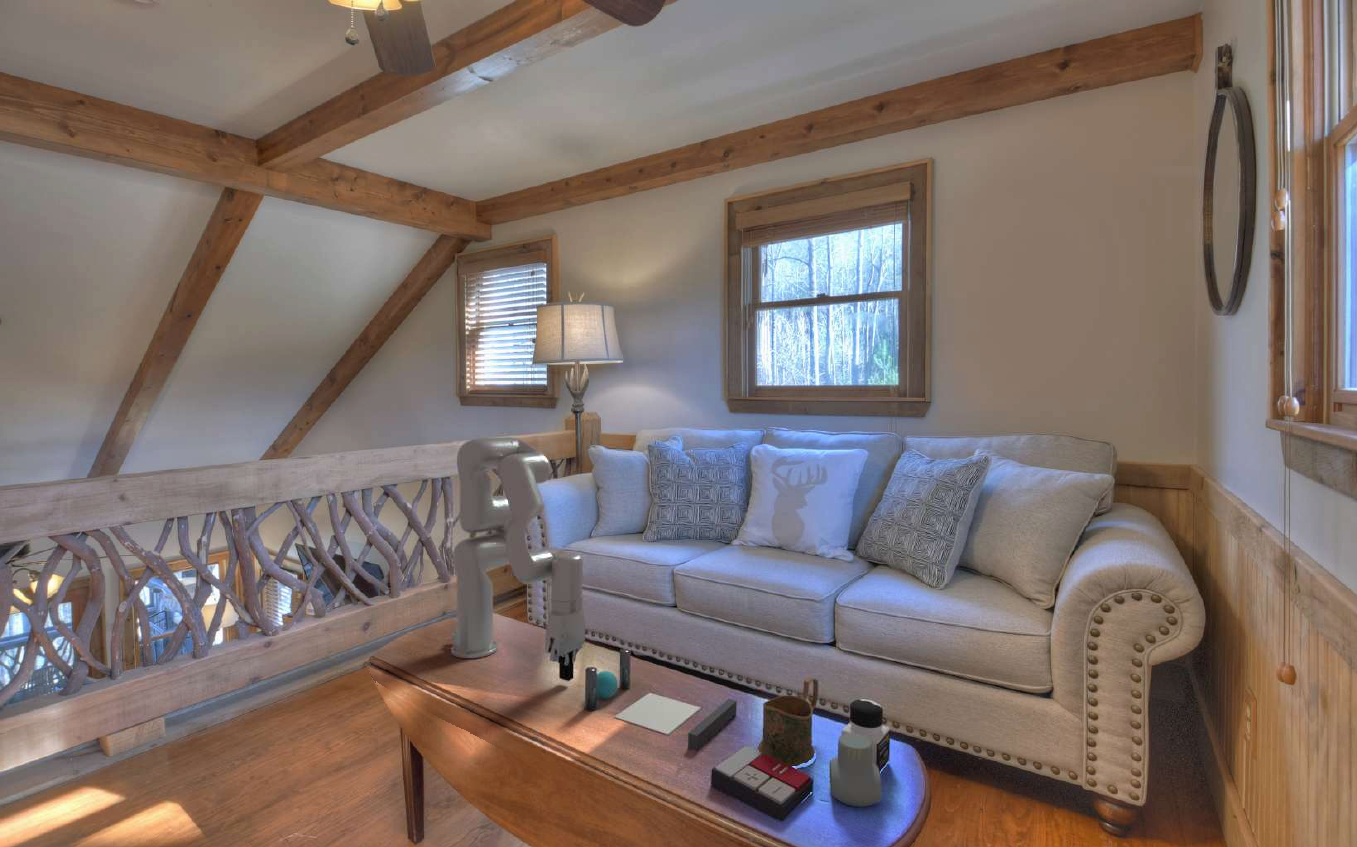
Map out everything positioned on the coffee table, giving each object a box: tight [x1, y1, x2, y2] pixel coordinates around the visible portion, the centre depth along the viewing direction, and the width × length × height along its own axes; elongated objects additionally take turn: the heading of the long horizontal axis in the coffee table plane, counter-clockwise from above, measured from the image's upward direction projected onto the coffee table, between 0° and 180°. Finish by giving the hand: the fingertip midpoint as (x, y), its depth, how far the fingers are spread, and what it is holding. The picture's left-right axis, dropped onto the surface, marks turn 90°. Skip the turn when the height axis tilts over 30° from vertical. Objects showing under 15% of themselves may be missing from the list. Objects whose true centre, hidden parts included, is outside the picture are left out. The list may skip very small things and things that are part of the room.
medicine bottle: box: [840, 698, 891, 772], centre depth 123 cm, size 7×7×12 cm
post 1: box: [584, 666, 598, 712], centre depth 145 cm, size 3×3×9 cm
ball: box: [597, 670, 619, 700], centre depth 150 cm, size 6×6×6 cm
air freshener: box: [829, 733, 883, 807], centre depth 113 cm, size 11×8×10 cm
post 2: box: [619, 648, 632, 691], centre depth 156 cm, size 3×3×9 cm
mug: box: [757, 677, 819, 767], centre depth 129 cm, size 12×18×12 cm, turn 140°
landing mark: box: [613, 692, 702, 736], centre depth 143 cm, size 14×14×1 cm
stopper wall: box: [687, 698, 738, 751], centre depth 136 cm, size 2×18×3 cm, turn 149°
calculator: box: [710, 745, 814, 822], centre depth 115 cm, size 11×4×15 cm
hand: (566, 678), depth 157 cm, fingers closed
